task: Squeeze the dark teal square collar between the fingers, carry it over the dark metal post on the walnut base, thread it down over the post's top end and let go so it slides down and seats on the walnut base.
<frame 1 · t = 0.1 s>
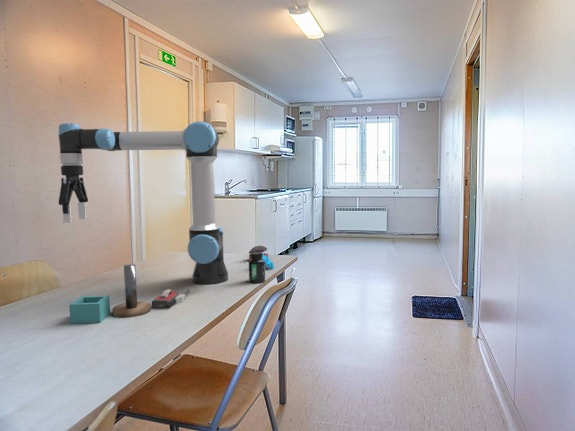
hand: (75, 220, 171), 28 cm above the table, fingers open, 13 cm apart
post: (130, 286, 146), on the post base, point 8 cm above the table
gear: (266, 268, 210), on the table
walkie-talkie: (172, 302, 159), on the table
dark mushroom: (258, 260, 230), on the table
collar: (91, 318, 141), on the table
post base: (131, 311, 147), on the table
supplement bottle: (257, 281, 185), on the table
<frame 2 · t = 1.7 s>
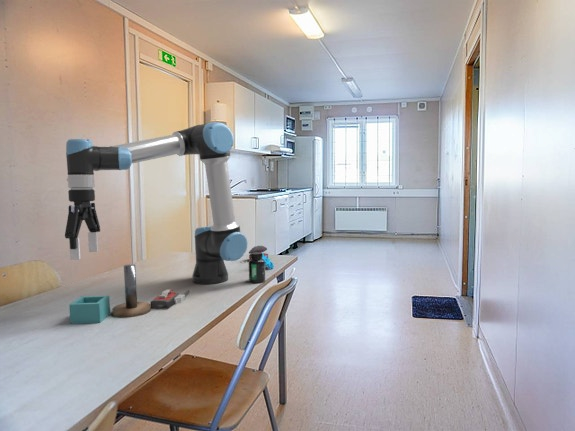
hand: (84, 255, 141), 20 cm above the table, fingers open, 13 cm apart
nothing on the table moved.
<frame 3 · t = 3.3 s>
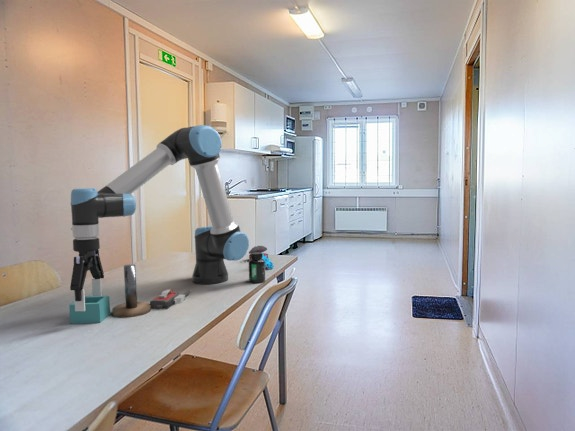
hand: (89, 304, 140), 5 cm above the table, fingers open, 13 cm apart
nothing on the table moved.
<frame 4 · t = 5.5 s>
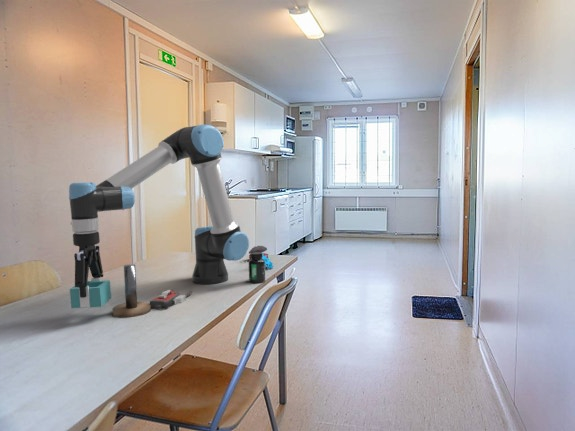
hand: (91, 302, 141), 5 cm above the table, fingers closed on collar, 9 cm apart
collar: (92, 303, 141), point 5 cm above the table, touching gripper
everything else where it was.
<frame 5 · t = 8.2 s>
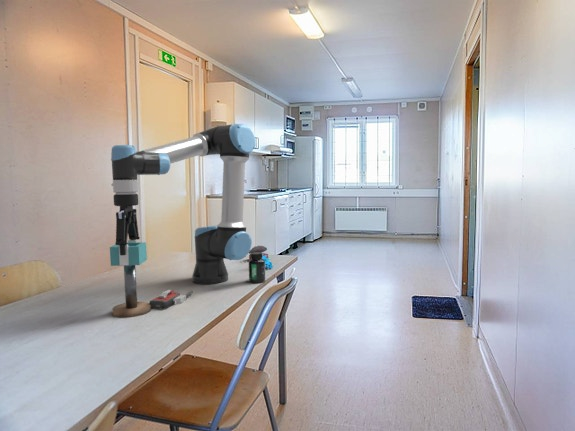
hand: (129, 261, 146), 17 cm above the table, fingers closed on collar, 9 cm apart
collar: (129, 262, 146), point 16 cm above the table, touching gripper
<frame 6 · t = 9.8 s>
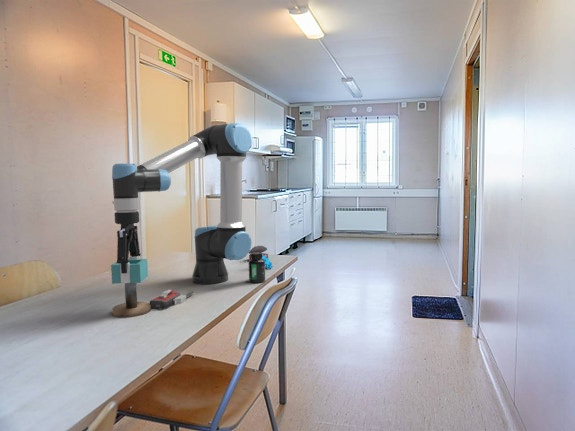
hand: (130, 279, 146), 11 cm above the table, fingers closed on collar, 9 cm apart
collar: (130, 279, 146), point 11 cm above the table, touching gripper
when the fingers open (11 cm above the table, at t = 10.6 s): collar drops 9 cm, resting on post base.
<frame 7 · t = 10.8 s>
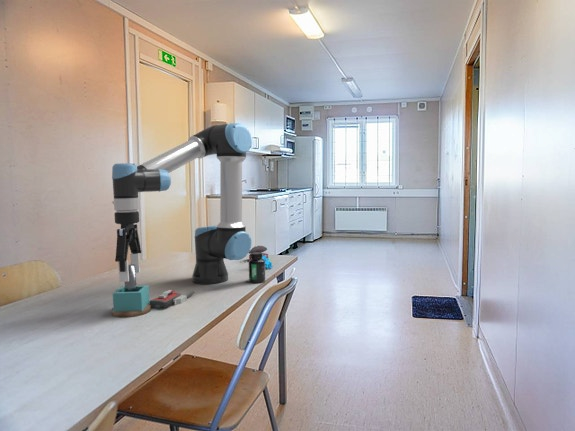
hand: (130, 276, 146), 12 cm above the table, fingers open, 11 cm apart
collar: (132, 306, 147), point 1 cm above the table, touching post base
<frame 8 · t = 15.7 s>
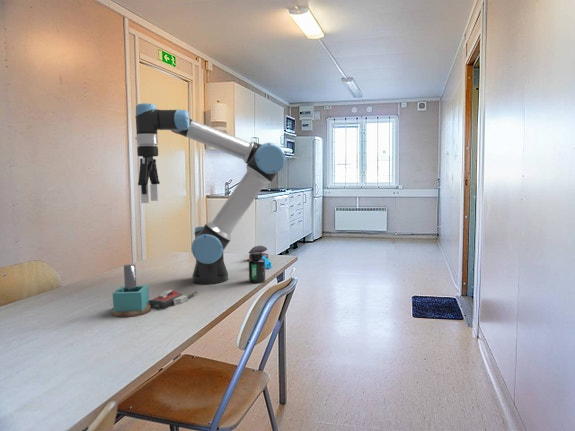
hand: (150, 201, 170), 35 cm above the table, fingers open, 13 cm apart
at the end: collar 0.1 cm from the post (horizontally); collar point 1.5 cm above the table; the gripper is holding nothing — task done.
